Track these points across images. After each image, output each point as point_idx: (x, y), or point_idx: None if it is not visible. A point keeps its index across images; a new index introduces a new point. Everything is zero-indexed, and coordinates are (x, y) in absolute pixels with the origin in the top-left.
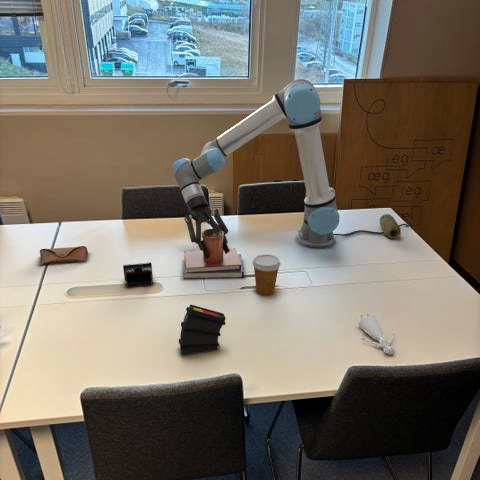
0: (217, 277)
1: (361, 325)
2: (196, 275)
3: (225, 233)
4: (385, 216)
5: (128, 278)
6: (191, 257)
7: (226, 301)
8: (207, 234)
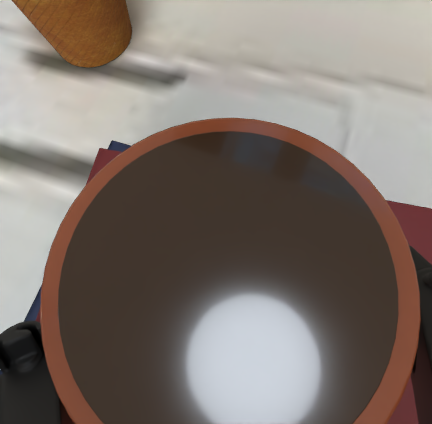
0: None
1: None
2: None
3: (2, 376)
4: None
5: None
6: (411, 384)
7: (283, 7)
8: (335, 234)
